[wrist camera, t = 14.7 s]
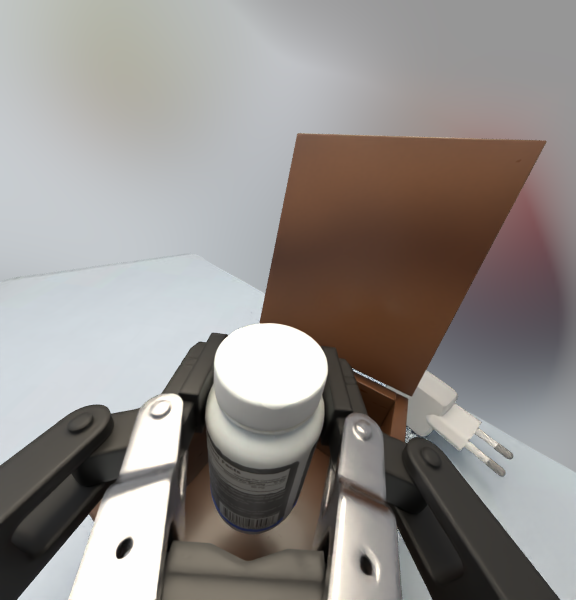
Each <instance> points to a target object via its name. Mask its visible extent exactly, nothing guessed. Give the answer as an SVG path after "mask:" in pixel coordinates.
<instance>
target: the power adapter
mask: <svg viewBox="0 0 576 600" xmlns="http://www.w3.org/2000/svg"><path fill="white" fill-rule="evenodd" d="M386 388H388V389H390V390H392V391H394V392H396V393H398V394H400V395H402V396H404V397H406V398H408V411H407V423H406V425H407V426H408V427H409V428H410V429H412V430H413V431H414V432H415V433H416V434H418V435H420V436H422V437H424V436H427V435H428V434H430V433H431V432H432V431H433V430H435V431H436V432H437V433H438V434H440V435H441V436H442V437H443V438H444V439H445V440H447V441H448V442H449V443H450V444H451V445H452V446H454V447H455V448H456V449H457V450H458V451H460V450H461V449H462V448H463V447H465V448H467V449H468V450H469V451H470V452H472V453H473V454H474V455H475V456H477V457H478V458H479V459H480V460H481V461H483V462H484V463H485V464H486V465H487V466H488V467H489V468H491V469H492V470H493V471H494V472H495V473H496V474H498V475H499V476H504V475H505V473H506V472H505V470H504V469H503V468H502V467H501V466H499V465H498V464H497V463H496V462H494V461H493V460H492V459H491V458H489V457H488V456H486V455H485V454H484V453H483V452H482V451H480V450H479V449H478V448H477V447H476V446H475V445H473V444H472V443H471V442H470V441H469V440H470V438H471V437H472V436H473V434H476V435H477V436H478V437H480V438H481V439H483V440H484V441H485V442H487V443H488V444H489V445H490V446H492V447H493V448H494V449H495V450H496V451H498V452H499V453H500V454H502V455H503V456H504V457H505V458H507V459H512V458H513V454H512V453H511V452H510V451H509V450H507V449H506V448H505V447H503V446H502V445H501V444H499V443H497V442H496V441H495V440H493V439H492V438H491V437H489V436H488V435H487V434H485V432H483V431H482V430H481V429H479V428H478V427H479V426H480V424H481V423H482V422H481V421H479V420H478V419H477V418H475V417H474V416H472V415H471V414H470V413H468V412H467V411H466V410H464V409H463V408H461V407H460V406H459V405H457V404H456V403H455V402H456V400H457V393H456V392H455V391H454V389H452V388H451V387H450V386H448V385H447V384H446V383H444V382H443V381H441V380H440V379H439V378H437V377H436V376H434V375H432V374H431V373H430V372H428V371H427V370H426V371H425V373H424V375H423V377H422V379H421V380H420V382H419V384H418V386H417V388H416V390H415V392H414V394H413V396H412V397H411V396H409V395H407V394H405V393H402V392H400V391H398V390H396V389H394V388H392V387H390V386H388V385H386Z"/></svg>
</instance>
